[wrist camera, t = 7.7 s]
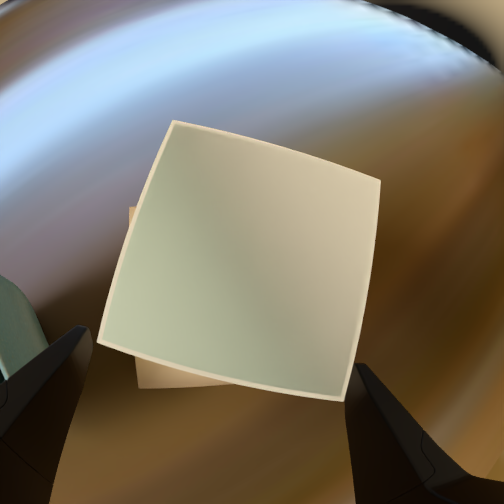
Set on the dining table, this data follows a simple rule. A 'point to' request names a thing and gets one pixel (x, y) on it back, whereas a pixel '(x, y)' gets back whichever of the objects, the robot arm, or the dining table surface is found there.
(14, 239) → the dining table surface
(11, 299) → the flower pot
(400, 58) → the dining table surface
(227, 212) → the tea tin
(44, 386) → the robot arm
